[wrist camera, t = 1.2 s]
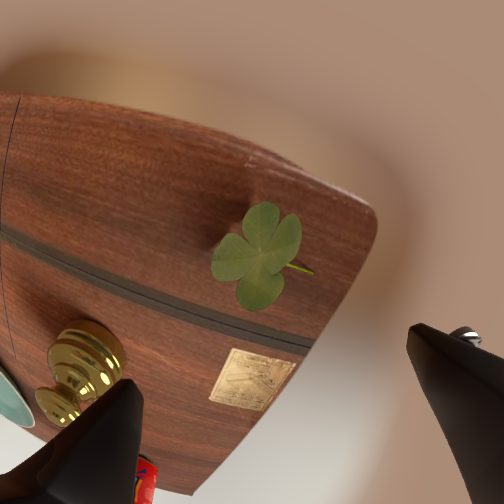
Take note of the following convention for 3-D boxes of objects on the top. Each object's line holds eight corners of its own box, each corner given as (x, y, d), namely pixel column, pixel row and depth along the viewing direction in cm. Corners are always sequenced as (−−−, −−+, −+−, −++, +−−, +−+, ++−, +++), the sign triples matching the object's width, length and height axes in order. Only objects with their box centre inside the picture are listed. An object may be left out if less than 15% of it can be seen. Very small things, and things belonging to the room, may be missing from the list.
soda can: (151, 473, 35) (139, 539, 21) (111, 457, 33) (92, 523, 19) (164, 462, 33) (152, 539, 19) (118, 444, 31) (97, 521, 17)
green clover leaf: (270, 238, 25) (213, 215, 21) (351, 217, 20) (301, 179, 15) (267, 318, 23) (204, 311, 19) (355, 315, 18) (301, 308, 13)
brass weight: (100, 380, 25) (69, 448, 16) (55, 332, 23) (8, 394, 14) (142, 362, 24) (112, 444, 15) (90, 305, 22) (35, 379, 12)
